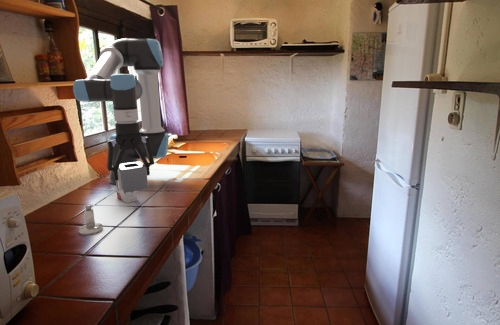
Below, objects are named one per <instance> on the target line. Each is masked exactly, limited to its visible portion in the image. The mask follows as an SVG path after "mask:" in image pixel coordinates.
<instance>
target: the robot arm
mask: <svg viewBox="0 0 500 325" xmlns="http://www.w3.org/2000/svg"><path fill="white" fill-rule="evenodd" d="M122 67H133V71H134V72H135V73H136V74H137V79H136V78H135V75H134V74H132V73H117V71H118V70H119V69H120V68H122ZM161 67H164V56H163V51H162V47H161V43H160V42H159V40H157V39H154V38H120V39H116V40H114V41H112V42H109V43H108V44H106V45H105V46H104V47H103V48H102V49H101V51H100V53H99V59H98V60H97V62H96V64H95V65H94V66H93V68H92V69H91V71H90V73H89V74H88V76H87V77H86V78H85V79H83V78H82V79H76V80H75V81H73V86H72V91H73V95H74V97H75V99H76V101H78V102H85V103H86V102H87V103H90V102H92V103H94V102H95V103H96V102H97V103H98V102H112V107H113V108H112V110H113V117H114V119H113V120H114V122H115V124H114V128H115V133H114V134H112V135H110V136H109V138H108V140H106V143H107V144H106V145H107V157H106V158H107V160H106V169H107V170H108V171H109V172H110V173H109V176H108V178H109V180H108V181H109V183H110V184H112V185H116V180H117V181H118V188H119V190H122V184H121V174H120V171H119V170H118V168H119V165H120V164H123V163H130V162H138V160H139V159H140V160H141V163H143V164H144V165H145V166H146V173H147V177H148V176H150V168H151V166H152V165H155V159H163V158H165V157H167V155H168V148H169V133H167V132H166V130H165V128H163V127H162V122H161V119H162V118H161V107H160V105H161V104H160V95H159V94H160V92H159V81H158V80H159V79H158V75H159V73H160V72H161ZM138 100H139V106H140V115H141V116H140V117H141V128H140V123H139V122H138V121H139V120H140V119H139V111H138V102H137V101H138ZM148 182H149V181H148V180H147V185H148V186H149V184H148Z"/></svg>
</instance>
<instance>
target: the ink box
mask: <svg viewBox="0 0 500 325" xmlns="http://www.w3.org/2000/svg"><path fill="white" fill-rule="evenodd" d="M115 186H116V187H115V189H116V197H117V199H118V200H120V201H123V202H124V203H127V204H128V203H131V202H135V201H138V190H137V191H131V192H126V193H124V192H123V191H122V190H119V188H118V181H117V180H116V184H115Z"/></svg>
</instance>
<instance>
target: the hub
mask: <svg viewBox="0 0 500 325" xmlns="http://www.w3.org/2000/svg"><path fill="white" fill-rule="evenodd" d="M83 211H84V219H85V220H84V221H85V224H84V225H82V226H79V229H78V232H79V235H80V236H81V235H82V236H91V235H92V236H93V235H96V234H98V233H100V232H102V231H103V229H104V227H103V224H102V223H98V222H95V214H94V208H92V205H91V204H87V205H86V204H85V209H84V210H83Z"/></svg>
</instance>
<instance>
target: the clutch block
mask: <svg viewBox="0 0 500 325" xmlns="http://www.w3.org/2000/svg"><path fill="white" fill-rule="evenodd" d="M118 170H119V171H120V174H121V184H122V191H123V192H124V193H126V192H131V191H137V192H138V191H143V190H148V186H149V184H148V185H147V181H148V176H147V173H146V166H145V165H144V163H143V162H142V161H140V160H137V162H130V163H123V164H120V165H119V168H118Z"/></svg>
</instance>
